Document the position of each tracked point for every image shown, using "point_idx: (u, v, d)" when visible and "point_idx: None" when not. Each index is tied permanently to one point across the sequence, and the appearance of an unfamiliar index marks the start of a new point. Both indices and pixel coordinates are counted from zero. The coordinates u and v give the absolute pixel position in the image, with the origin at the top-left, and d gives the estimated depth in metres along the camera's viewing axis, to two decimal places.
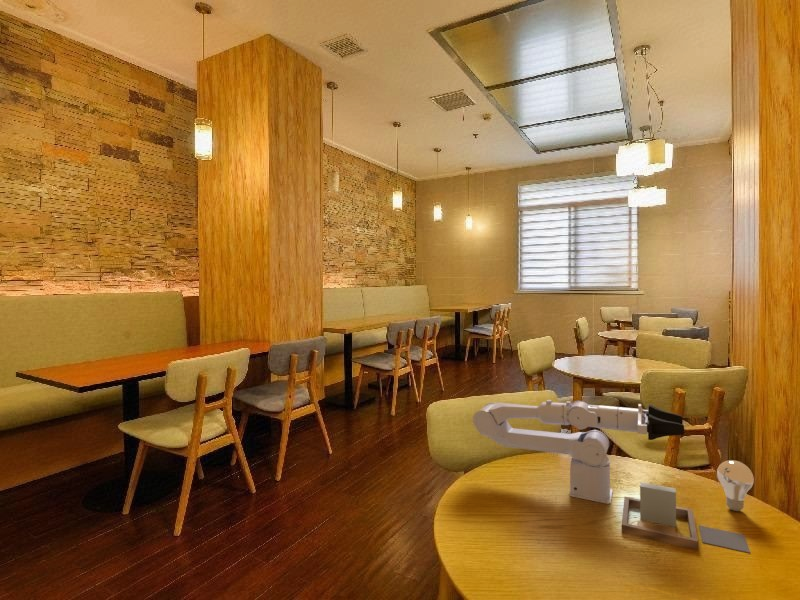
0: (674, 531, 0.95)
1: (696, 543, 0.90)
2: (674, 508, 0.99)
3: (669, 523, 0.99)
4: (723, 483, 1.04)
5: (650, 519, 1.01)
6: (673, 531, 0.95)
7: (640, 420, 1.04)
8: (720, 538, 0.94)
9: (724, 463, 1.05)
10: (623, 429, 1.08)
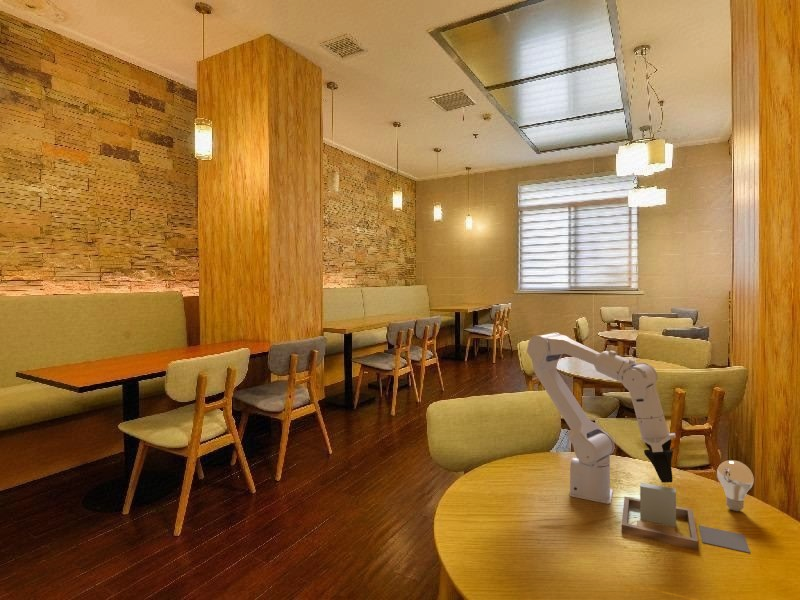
0: (674, 531, 0.95)
1: (696, 543, 0.90)
2: (674, 508, 0.99)
3: (669, 523, 0.99)
4: (723, 483, 1.04)
5: (650, 519, 1.01)
6: (673, 531, 0.95)
7: (663, 442, 0.97)
8: (720, 538, 0.94)
9: (724, 463, 1.05)
10: (641, 423, 1.02)
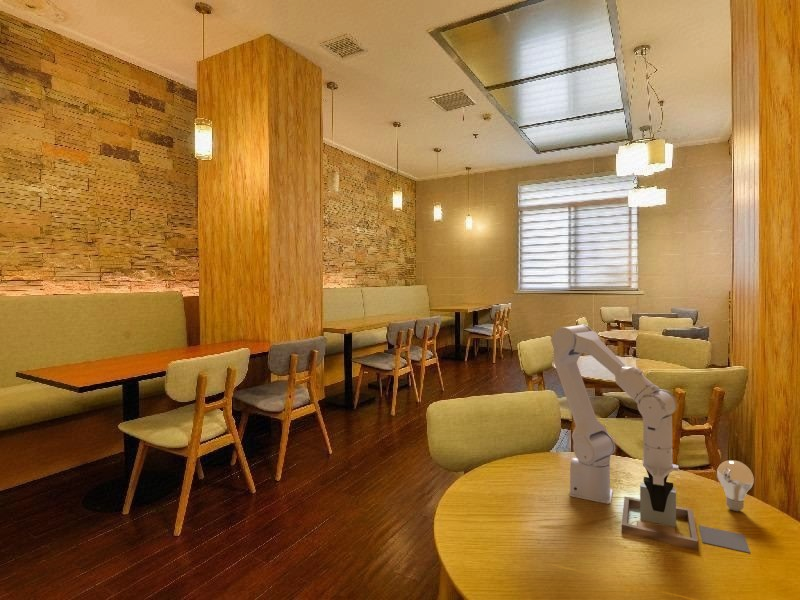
0: (673, 531, 0.95)
1: (696, 543, 0.90)
2: (674, 508, 0.99)
3: (669, 523, 0.99)
4: (723, 483, 1.04)
5: (650, 519, 1.01)
6: (672, 531, 0.95)
7: (665, 475, 0.96)
8: (720, 538, 0.94)
9: (724, 463, 1.05)
10: (647, 450, 1.00)
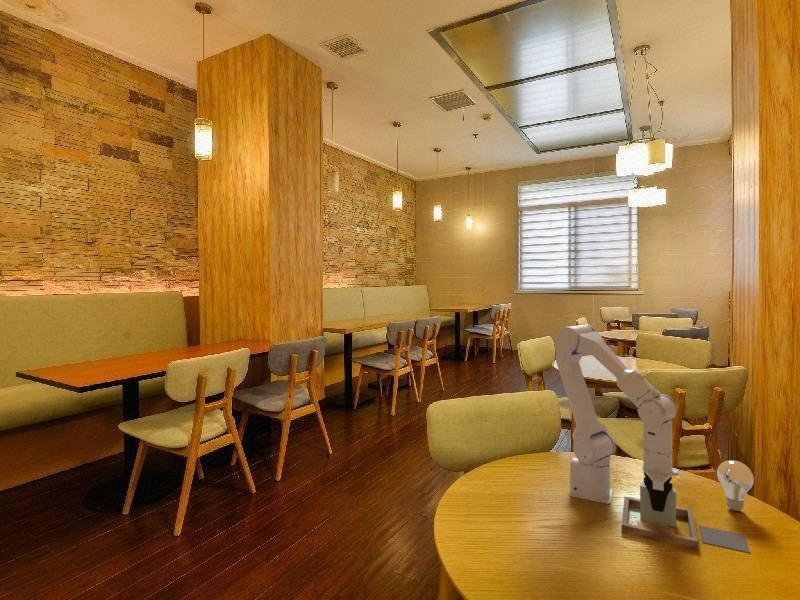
0: (673, 532, 0.95)
1: (696, 543, 0.90)
2: (674, 508, 0.99)
3: (669, 523, 0.99)
4: (723, 483, 1.04)
5: (650, 518, 1.01)
6: (672, 532, 0.95)
7: (665, 480, 0.96)
8: (720, 538, 0.94)
9: (724, 463, 1.05)
10: (647, 455, 1.00)
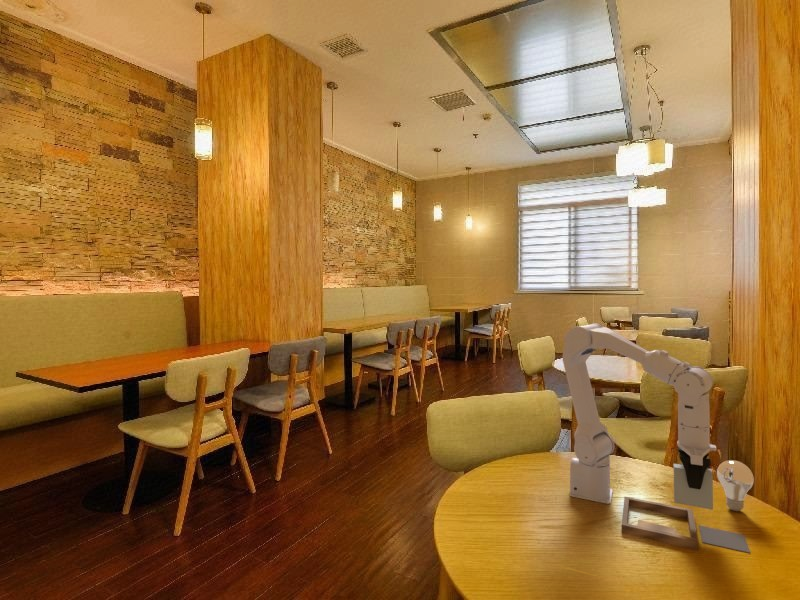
0: (674, 532, 0.95)
1: (696, 543, 0.90)
2: (711, 489, 0.94)
3: (706, 505, 0.95)
4: (723, 483, 1.04)
5: (684, 501, 0.97)
6: (673, 532, 0.95)
7: (704, 455, 0.91)
8: (720, 538, 0.94)
9: (724, 463, 1.05)
10: (682, 430, 0.95)
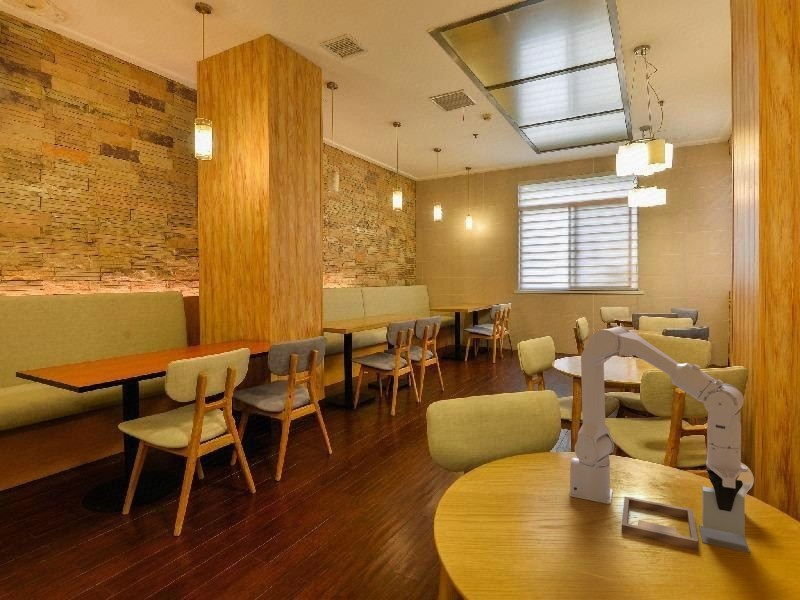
0: (674, 532, 0.95)
1: (696, 543, 0.90)
2: (742, 514, 0.91)
3: (737, 531, 0.92)
4: None
5: (714, 526, 0.93)
6: (673, 532, 0.95)
7: (736, 477, 0.88)
8: (720, 538, 0.94)
9: None
10: (713, 450, 0.92)
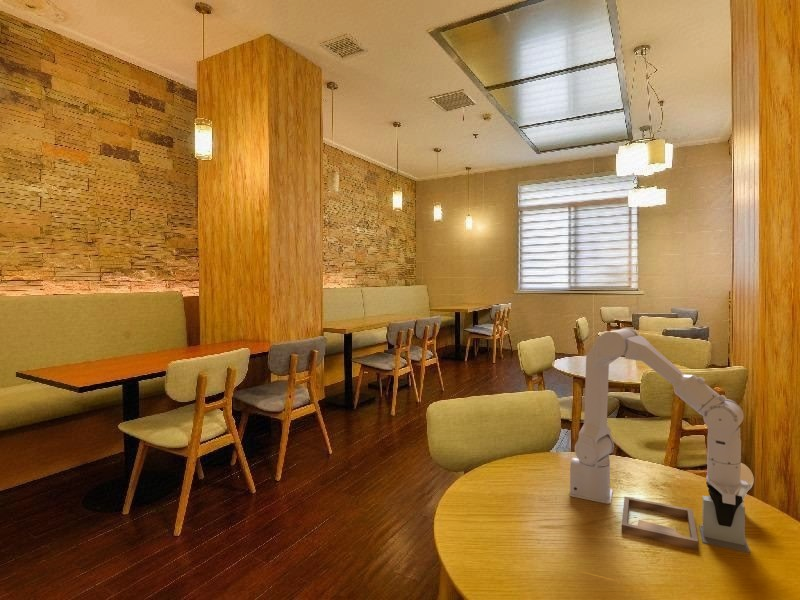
0: (674, 532, 0.95)
1: (696, 543, 0.90)
2: (743, 524, 0.91)
3: (737, 540, 0.92)
4: None
5: (714, 535, 0.94)
6: (673, 532, 0.95)
7: (736, 493, 0.88)
8: None
9: None
10: (713, 465, 0.92)
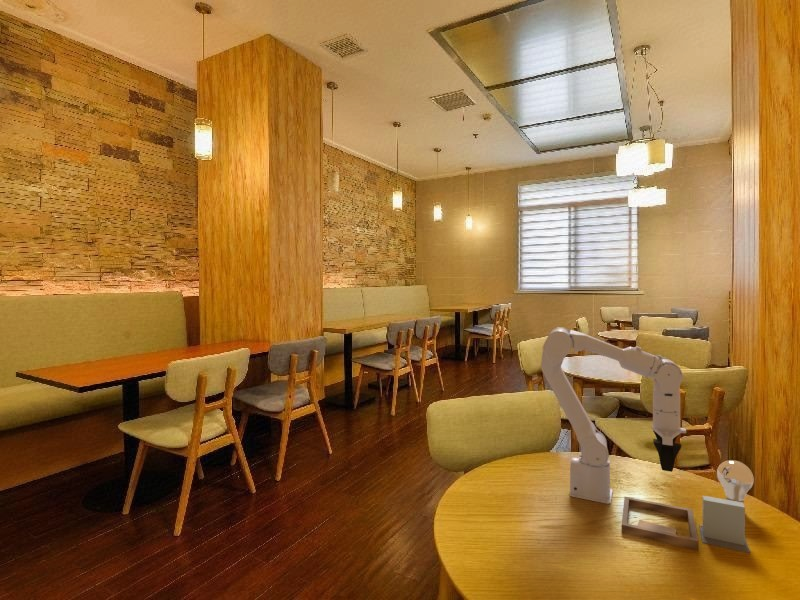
0: (674, 533, 0.95)
1: (696, 543, 0.90)
2: (743, 524, 0.91)
3: (737, 540, 0.92)
4: (723, 483, 1.04)
5: (714, 535, 0.94)
6: (673, 533, 0.95)
7: (674, 436, 1.02)
8: None
9: (724, 463, 1.05)
10: (656, 414, 1.07)
